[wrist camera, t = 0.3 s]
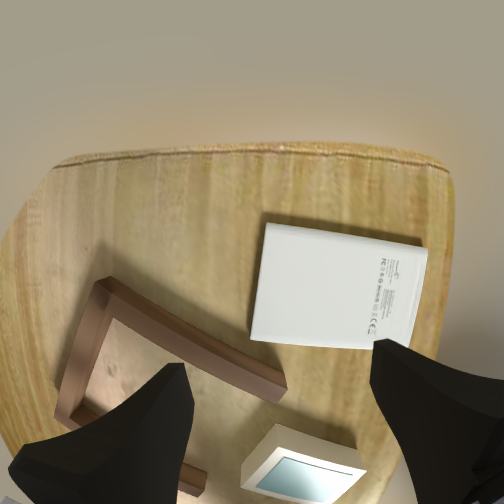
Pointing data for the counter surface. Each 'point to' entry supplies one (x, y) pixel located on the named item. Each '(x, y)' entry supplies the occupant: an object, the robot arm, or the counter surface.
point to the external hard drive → (335, 289)
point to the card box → (300, 467)
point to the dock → (166, 336)
